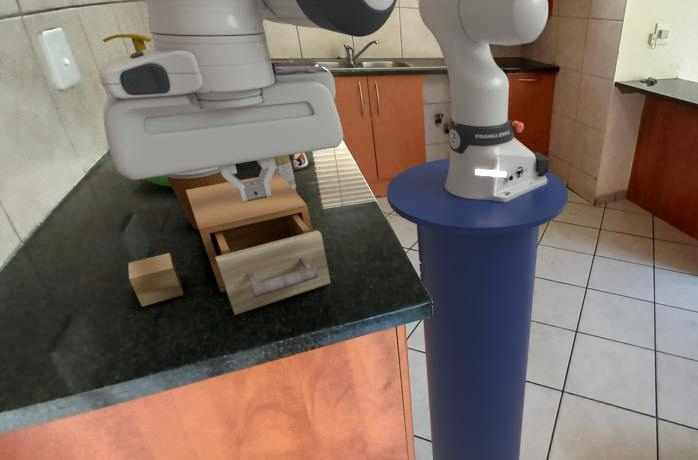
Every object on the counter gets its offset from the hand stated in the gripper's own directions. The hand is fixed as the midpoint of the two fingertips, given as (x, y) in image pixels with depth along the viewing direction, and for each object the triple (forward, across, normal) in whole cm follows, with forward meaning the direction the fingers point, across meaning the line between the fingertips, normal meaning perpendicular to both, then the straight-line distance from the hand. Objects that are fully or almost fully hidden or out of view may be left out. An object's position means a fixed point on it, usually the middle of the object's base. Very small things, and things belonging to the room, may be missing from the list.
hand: (256, 198), depth 47 cm
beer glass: (+16, -16, -54) cm, 59 cm away
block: (+16, +12, -14) cm, 24 cm away
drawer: (+15, 0, -6) cm, 16 cm away
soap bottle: (+16, +5, -82) cm, 83 cm away
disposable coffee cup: (+16, +3, -32) cm, 36 cm away
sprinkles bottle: (+16, -9, -33) cm, 38 cm away
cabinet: (+16, 0, -16) cm, 23 cm away
